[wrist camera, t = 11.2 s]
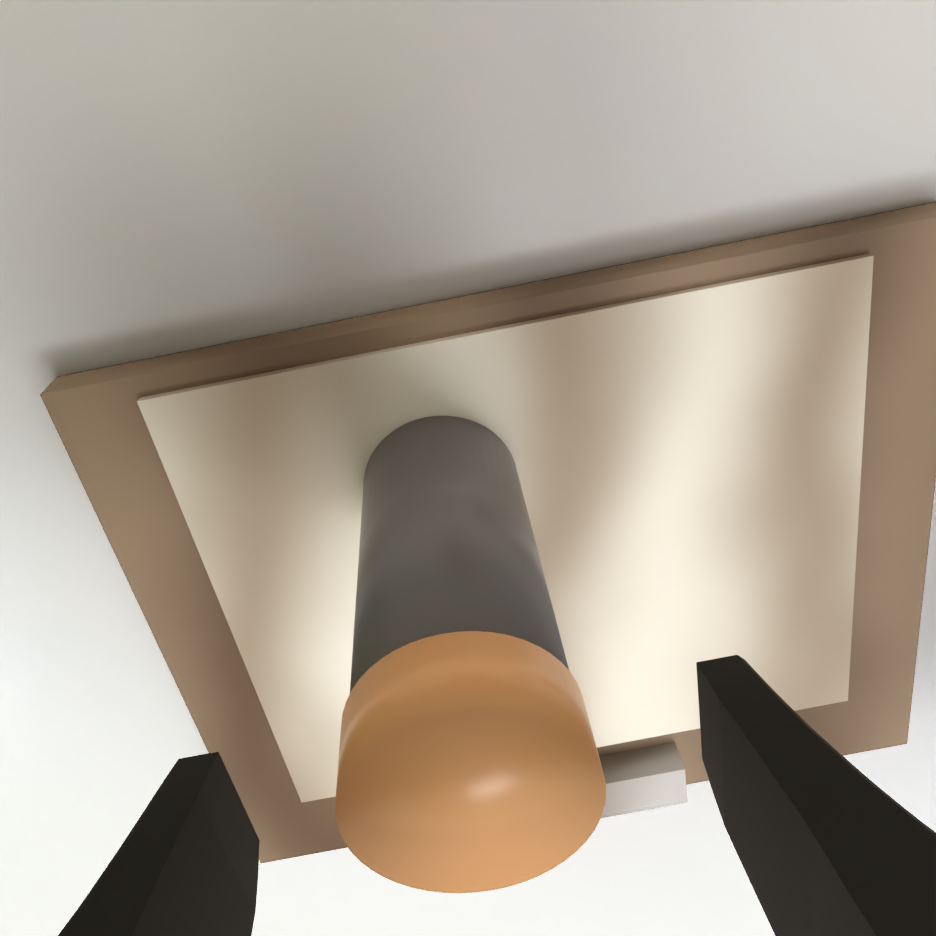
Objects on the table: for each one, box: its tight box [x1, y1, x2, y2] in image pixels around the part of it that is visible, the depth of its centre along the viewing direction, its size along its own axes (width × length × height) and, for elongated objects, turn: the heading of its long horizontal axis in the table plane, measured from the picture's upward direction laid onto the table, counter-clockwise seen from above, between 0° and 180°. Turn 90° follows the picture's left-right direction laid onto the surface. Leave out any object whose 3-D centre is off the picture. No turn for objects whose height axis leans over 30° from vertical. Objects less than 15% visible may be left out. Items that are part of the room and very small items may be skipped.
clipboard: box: [41, 202, 936, 863], centre depth 22 cm, size 20×16×2 cm
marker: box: [335, 416, 606, 893], centre depth 16 cm, size 4×4×9 cm
